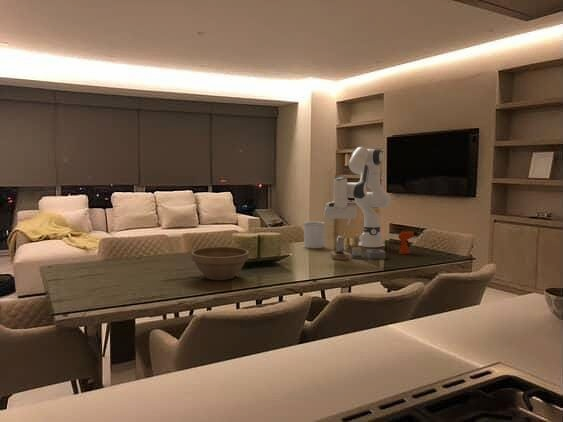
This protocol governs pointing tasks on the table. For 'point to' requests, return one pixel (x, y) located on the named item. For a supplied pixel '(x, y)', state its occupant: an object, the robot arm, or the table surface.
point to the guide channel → (356, 257)
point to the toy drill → (406, 241)
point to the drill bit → (339, 245)
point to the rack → (339, 255)
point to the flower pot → (219, 261)
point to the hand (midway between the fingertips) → (340, 226)
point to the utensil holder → (314, 234)
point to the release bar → (356, 252)
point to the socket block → (376, 254)
